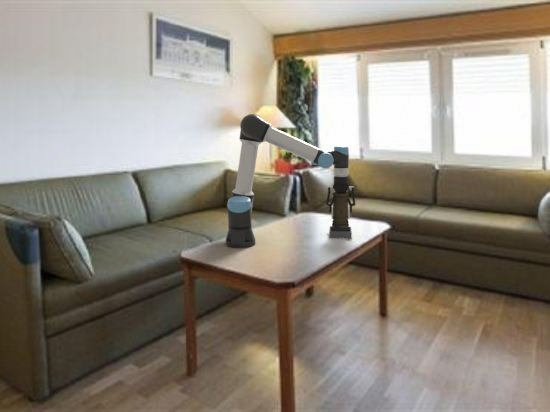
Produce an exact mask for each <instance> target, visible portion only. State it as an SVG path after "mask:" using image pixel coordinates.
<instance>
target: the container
mask: <svg viewBox="0 0 550 412" xmlns="http://www.w3.org/2000/svg"><path fill="white" fill-rule="evenodd" d="M349 195H350V194H349V192H347V193H335V191H334V192H332V196H334V201H333V204H332V206H333V219H332V221H331V222H332V224H331V226H333V227H336V228H347V227H350V224H349V223H350V222H349V219H348V206H349V203H348V197H349Z"/></svg>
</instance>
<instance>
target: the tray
mask: <svg viewBox="0 0 550 412" xmlns="http://www.w3.org/2000/svg"><path fill="white" fill-rule="evenodd" d="M328 232H329V234H328V237H329V239H352V235H353V234H352V232H353V231H352V226H349V227H347V228H336V227H333V226H332V225H331V226H329V231H328Z"/></svg>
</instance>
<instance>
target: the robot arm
mask: <svg viewBox="0 0 550 412" xmlns="http://www.w3.org/2000/svg"><path fill="white" fill-rule="evenodd" d="M239 125H240V127H239V128H240V132H239V141H240V142H241V147H240V154H239V160H238V162H239V163H238V169H237V177H236V181H235V182H236V183H235V188H234V189H233V190H232V191H231V197H230V198H229V199H228V200H227V204H226V205H227V207H226V208H227V223H228V224H227V225H228V226H227V227H228V229H227V234H226V236H225V240H224V241H225V246H226V245H227V247H229V248H237V249H238V248H240V249H241V248H249V247H253V246H254V245H256V237H255V235H254V231H253V228H252V226H253V225H252V211H253V206H254V199H255V193H254V192H253V185H254V177H255V171H256V164H257V157H258V152H259V145H260V144H262V143H265V142H266V143H268V144H271V145H273V146H275V147H277V148H279V149H282V150H284V151H286V152H289V153H291V154H293V155H294V156H297V157H299V158H301V159H304V160H306V161H308V162H310V164H311V165H314V166H319V167H321V168H322V169H329V168H331V167H332V166H333V175H334V177H333V185H332V186H327V190H328V191H327V196H326V203H325V206H328V208H329V213H331V220H333V201H334V195H332V198H331V200H330V197H331V191H333V190H334V192H335V193H348V190H349V191H350V193H351V199H350V197H349V196H348V220H350V217H351V215H350V214H352V213H353V207H354V206H356V199H355V193H354V192H355V186H353V185H352V186H350V185H349V169H350V168H349V164H350V163H349V161H350V160H349V159H350V155H349V154H350V153H349V147H348V146H347V145H334V147H333V149H331V150H328V149H326V150H325V149H320V147H319V148H318V147H316V146H314V145H312V144H309V143H308V142H306V141H303V140H302V139H299V138H297V137H294V136H292V135H290V134H288V133H286V132H284V131H282V130H280V129H277V128H275V127H274V126H272V124H271V123H269V122H267V121H265V120H264V119H263V118H262V116H260V115H258V114H256V113H249V114H247V115H245V116H243V118H242V119H241V121H240V124H239ZM351 200H352V201H351Z"/></svg>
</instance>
